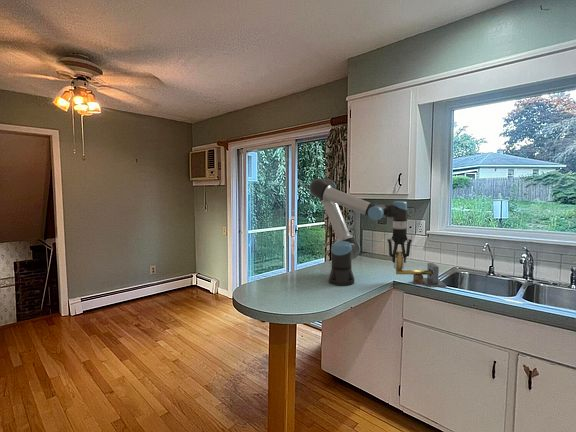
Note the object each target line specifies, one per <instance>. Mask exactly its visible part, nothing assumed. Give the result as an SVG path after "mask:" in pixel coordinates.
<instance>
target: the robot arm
mask: <svg viewBox="0 0 576 432" xmlns="http://www.w3.org/2000/svg"><path fill="white" fill-rule="evenodd" d="M309 192H310V194H311V196H313V197H315V198H316V199H317V198H318V201H319V202H320V203H321V204H323V207H324V209H325V212H326V214H327V217H328V220H329V221H330V225H331V228H332V229H333V232H334V235H335V237H336V241H335V242H333V243H332V245H331V249H330V251H331V252H330V253H331V269H330V273H329V275H328V283H329V284H331V285H333V284H334V286H339V287H341V286H342V287H345V286H351V285H353V284H355V277H354V274H353V270H352V262H353V260H354V259H356V258H357V257H358V256H359V255H360V252H361V246H360V243H359V242H358V241H356V240H355V238H354V235H353V234H351V233H350V232H349V228H348V226H347V224H346V220H345V218H344V216H343V213H342V211H341V208H340V206H342V207H345V208H347V209H349V210H351V211H355V212H356V213H359V214H361V215H364V216H367V217H369V219H370V220H372V221H379V220H381V219H383V218H390V219H392V236H391V238H388V239H387V242H388V255H389V256H390V257H392V259H391V261H392V263H393V268H394V269H395V270H396V267H397V258H396V252H397V250H398V246H399V245H400V246H401V247H400V249H401V252H402V270H405V263H407V261H406V260H407V259H406V258H408V257H410V253H411V252H410V249H411V243H412V241H413V240H412V239H411V238H408V236H407V231H408V230H407V228H408V227H407V224H408V221H407V218H408V203H407V201H404V200H396V201H393V203H392V204H374V203H371V202H370V201H366V200H364V199H361V198H359V197H357V196H354V195H352V194H349V193H346V192H344V191H341V190H338V189H337V185H336V183H335V182H334V181H333V180H332V179H329V178H316V179H315V178H314V180H312V181H311V183H310V184H309ZM339 205H340V206H339ZM393 242H394V245H392V243H393ZM405 243H406V248H405Z"/></svg>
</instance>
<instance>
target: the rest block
mask: <svg viewBox="0 0 576 432" xmlns="http://www.w3.org/2000/svg"><path fill="white" fill-rule="evenodd" d="M412 275H413V274H412ZM423 278H424V275H413V279H412V280H413V281H412V282H414V284H415V285H417V284H418V285H424V283H423Z"/></svg>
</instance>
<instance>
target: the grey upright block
mask: <svg viewBox="0 0 576 432" xmlns="http://www.w3.org/2000/svg"><path fill="white" fill-rule="evenodd" d="M426 268H427V269H426V270H431V275H426V277H423V285H426V287H439V288H441V287H442V288H443V287H444V288H445V287H447V284H446V283H444V282H443V281H442V280H441V279H439V268H440V266H438V265H436V264H435V263H433V262H427V267H426Z"/></svg>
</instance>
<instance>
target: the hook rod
mask: <svg viewBox="0 0 576 432" xmlns="http://www.w3.org/2000/svg"><path fill="white" fill-rule="evenodd" d="M395 257H396V258H397V267H396V269H395V275H423V276H424V275H426V276H427V275H431V270H427V269H426V270H423V269H422V270H421V269H420V270H417V269H416V270H415V269H413V270H411V269H409V270H408V269H406V270H405V269H402V257H403V254H402V250H401V251H396V256H395Z"/></svg>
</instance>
